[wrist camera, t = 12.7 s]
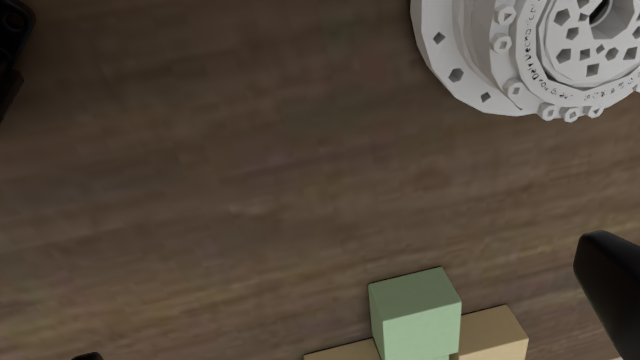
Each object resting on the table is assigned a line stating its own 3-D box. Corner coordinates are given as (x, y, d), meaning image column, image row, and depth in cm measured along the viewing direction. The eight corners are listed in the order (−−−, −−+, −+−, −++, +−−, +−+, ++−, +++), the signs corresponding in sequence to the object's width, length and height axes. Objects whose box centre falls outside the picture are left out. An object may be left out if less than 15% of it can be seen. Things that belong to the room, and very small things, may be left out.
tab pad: (367, 283, 27) (382, 321, 25) (441, 266, 28) (462, 301, 26) (374, 361, 31) (387, 399, 29) (439, 344, 32) (456, 381, 30)
